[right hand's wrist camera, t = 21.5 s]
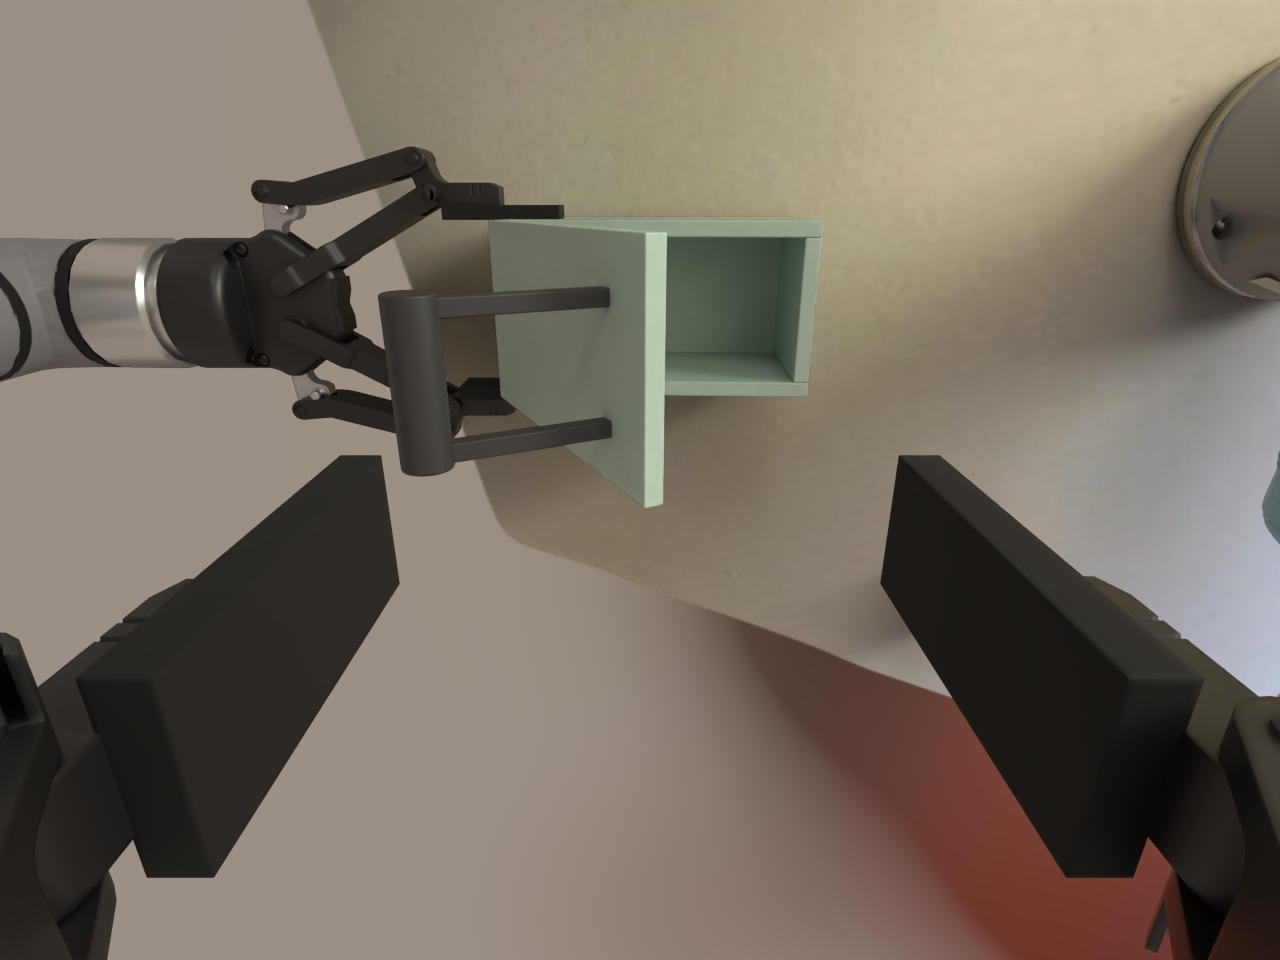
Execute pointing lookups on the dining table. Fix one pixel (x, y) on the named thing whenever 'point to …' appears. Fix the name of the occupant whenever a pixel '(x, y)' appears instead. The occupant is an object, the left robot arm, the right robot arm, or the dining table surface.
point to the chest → (734, 301)
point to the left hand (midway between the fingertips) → (565, 304)
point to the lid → (547, 353)
